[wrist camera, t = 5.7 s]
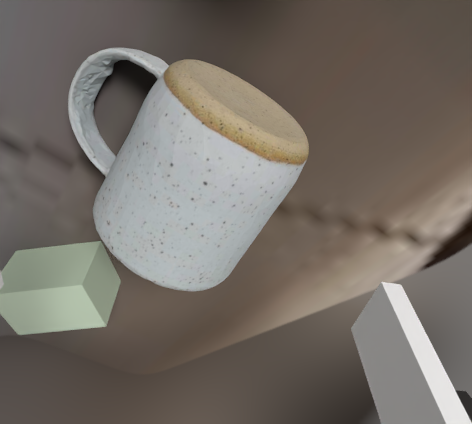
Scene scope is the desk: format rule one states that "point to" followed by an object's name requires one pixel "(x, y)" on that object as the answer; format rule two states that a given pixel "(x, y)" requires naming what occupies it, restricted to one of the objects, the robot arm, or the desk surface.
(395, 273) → the desk surface
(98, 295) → the sage green block
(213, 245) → the ceramic mug
